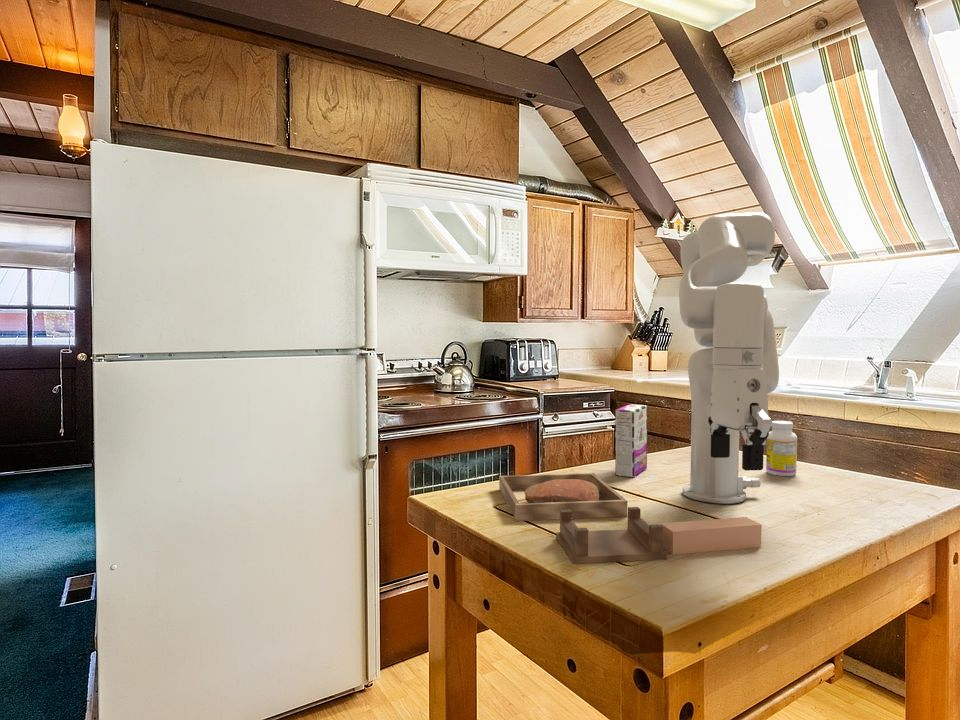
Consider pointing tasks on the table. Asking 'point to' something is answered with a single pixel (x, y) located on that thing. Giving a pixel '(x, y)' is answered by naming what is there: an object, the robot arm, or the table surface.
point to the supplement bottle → (781, 449)
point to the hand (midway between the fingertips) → (735, 463)
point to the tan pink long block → (711, 535)
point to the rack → (611, 541)
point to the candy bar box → (630, 440)
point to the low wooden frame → (546, 511)
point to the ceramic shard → (562, 491)
